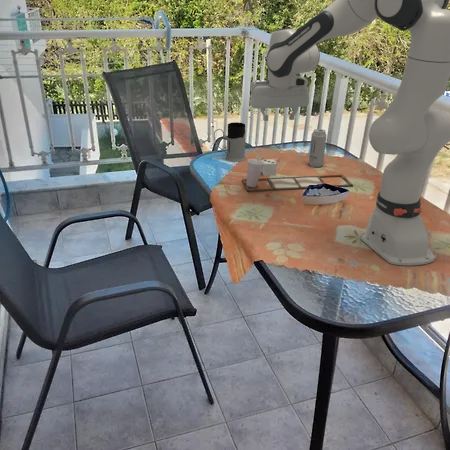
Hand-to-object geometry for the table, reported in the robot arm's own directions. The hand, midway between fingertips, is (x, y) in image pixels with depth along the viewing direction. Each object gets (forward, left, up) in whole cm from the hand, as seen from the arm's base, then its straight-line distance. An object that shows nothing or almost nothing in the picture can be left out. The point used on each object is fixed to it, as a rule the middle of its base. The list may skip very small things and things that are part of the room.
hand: (278, 120), depth 165 cm
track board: (+2, -9, -26) cm, 27 cm away
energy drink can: (+20, -23, -26) cm, 40 cm away
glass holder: (+32, +12, -26) cm, 43 cm away
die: (+14, -1, -26) cm, 29 cm away
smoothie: (+2, +9, -26) cm, 27 cm away
